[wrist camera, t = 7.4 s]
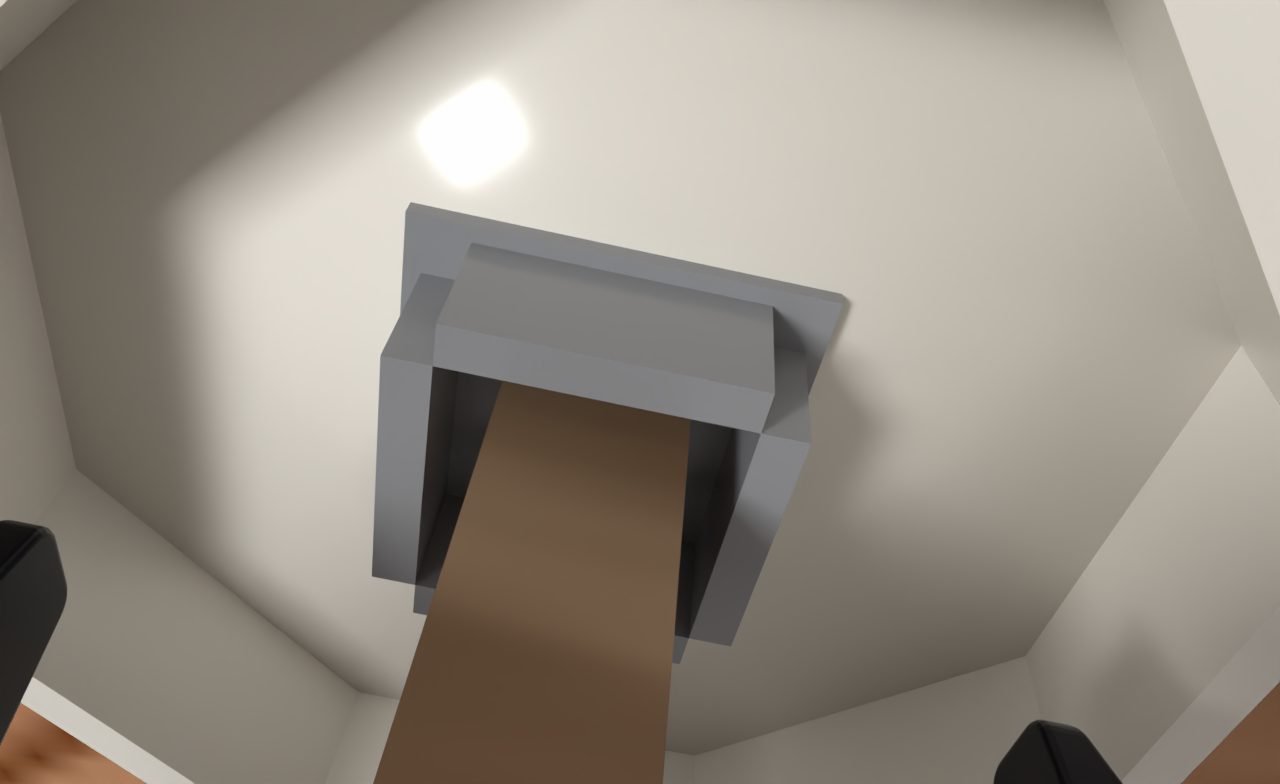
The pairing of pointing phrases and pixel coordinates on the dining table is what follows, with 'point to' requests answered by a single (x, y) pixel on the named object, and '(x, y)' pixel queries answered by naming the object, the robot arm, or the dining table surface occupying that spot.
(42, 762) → the dining table surface
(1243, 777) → the dining table surface
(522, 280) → the octagonal white tray
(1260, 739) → the dining table surface
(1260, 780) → the dining table surface
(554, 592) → the tall wooden post
